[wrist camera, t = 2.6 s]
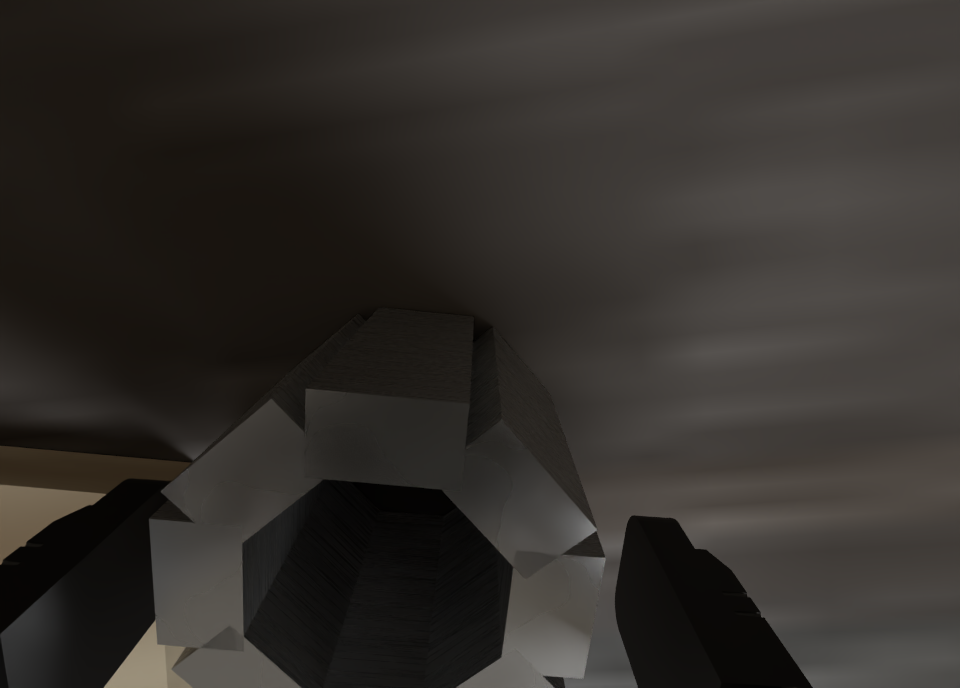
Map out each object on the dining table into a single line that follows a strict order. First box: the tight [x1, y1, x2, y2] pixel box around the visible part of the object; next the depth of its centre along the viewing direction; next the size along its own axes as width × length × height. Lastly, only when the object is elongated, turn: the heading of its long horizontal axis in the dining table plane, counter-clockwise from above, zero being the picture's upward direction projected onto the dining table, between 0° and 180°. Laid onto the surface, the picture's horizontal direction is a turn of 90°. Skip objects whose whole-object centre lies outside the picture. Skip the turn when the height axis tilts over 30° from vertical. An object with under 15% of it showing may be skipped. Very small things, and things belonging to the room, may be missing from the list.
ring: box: [149, 307, 606, 688], centre depth 10 cm, size 6×6×5 cm
